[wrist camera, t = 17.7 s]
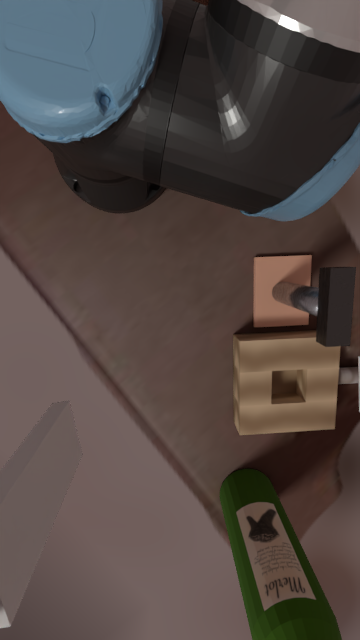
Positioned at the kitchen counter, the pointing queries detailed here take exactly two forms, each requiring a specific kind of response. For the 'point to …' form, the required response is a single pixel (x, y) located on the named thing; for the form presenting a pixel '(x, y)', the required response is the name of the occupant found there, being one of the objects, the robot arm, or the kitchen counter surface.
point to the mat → (267, 277)
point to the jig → (286, 382)
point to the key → (324, 303)
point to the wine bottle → (272, 564)
